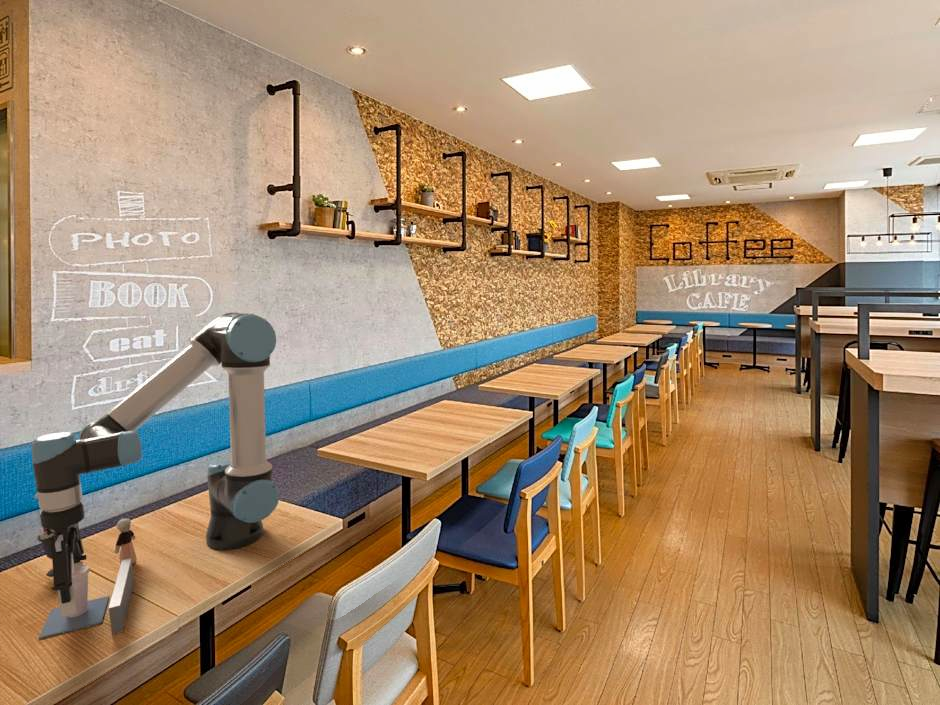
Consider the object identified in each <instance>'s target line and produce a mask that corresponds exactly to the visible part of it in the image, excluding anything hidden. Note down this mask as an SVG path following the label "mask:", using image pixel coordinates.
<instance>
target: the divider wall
mask: <svg viewBox="0 0 940 705" xmlns="http://www.w3.org/2000/svg"><path fill="white" fill-rule="evenodd" d="M119 565H120V564H119ZM119 568H120V569H119ZM119 568H118V569H119V570H118V573H117V576H116V580H115V584H114V587H113V591H112V595H111V597H110V598H111V599H110V602H109V605H108V615H109V623H110V631H111V635H114V634H113V633H116V634H119V633H118V632H120V633H122V632H121V631H123V632H124V630H123V628H125V625H126V624H125V623H126V620H125V619H127V616H126V614H128V611H127V610H129V606H130V602H129V601H131V596H132V592H133V586H134V582H135V578H134V572H133V565H132V560H131V559H126V560H122V561H121V565H120V566H119ZM128 605H129V606H128ZM124 624H125V625H124Z"/></svg>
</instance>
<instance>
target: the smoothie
mask: <svg viewBox="0 0 940 705" xmlns="http://www.w3.org/2000/svg"><path fill="white" fill-rule="evenodd" d="M89 573H90V567H89V565H86V564H83V565H77V566H74V560H73V553H72V583H74V590H75V597H76V605H77V613H76V614H72V615H68V616H67V617H69V618H73V617H77V616H80V615H82V614H84V613H85V612H86V611H87V601H89V600H88V596H89V595H88V594H89V593H88V590H89V588H88V587H89V586H88V585H89Z"/></svg>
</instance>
